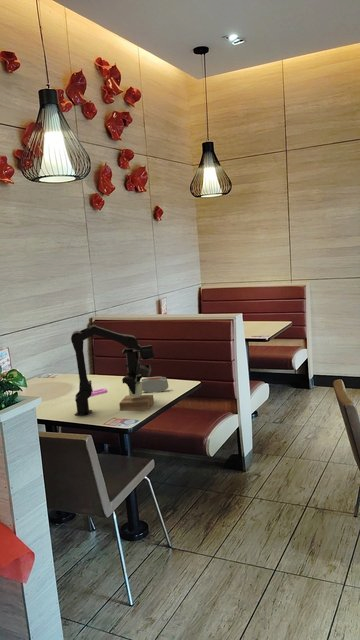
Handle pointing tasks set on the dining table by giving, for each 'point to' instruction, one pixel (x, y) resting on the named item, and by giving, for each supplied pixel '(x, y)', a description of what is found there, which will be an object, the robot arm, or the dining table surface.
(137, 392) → the sage cube
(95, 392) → the bracket
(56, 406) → the dining table surface
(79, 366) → the robot arm
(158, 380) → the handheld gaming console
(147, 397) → the walnut block
